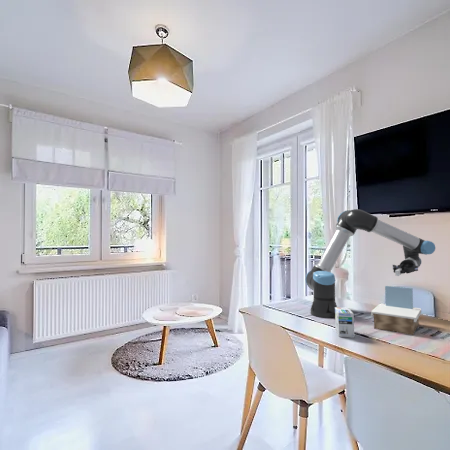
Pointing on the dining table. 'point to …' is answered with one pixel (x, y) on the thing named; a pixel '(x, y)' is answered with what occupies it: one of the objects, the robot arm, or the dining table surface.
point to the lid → (398, 304)
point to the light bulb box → (344, 322)
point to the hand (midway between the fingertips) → (396, 273)
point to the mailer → (395, 324)
